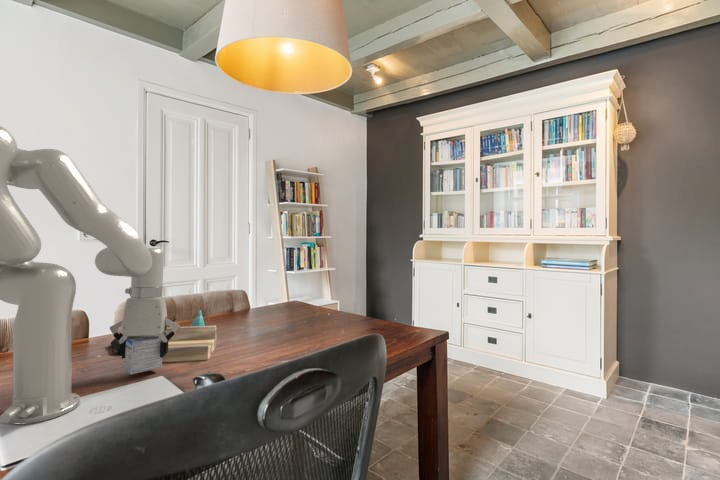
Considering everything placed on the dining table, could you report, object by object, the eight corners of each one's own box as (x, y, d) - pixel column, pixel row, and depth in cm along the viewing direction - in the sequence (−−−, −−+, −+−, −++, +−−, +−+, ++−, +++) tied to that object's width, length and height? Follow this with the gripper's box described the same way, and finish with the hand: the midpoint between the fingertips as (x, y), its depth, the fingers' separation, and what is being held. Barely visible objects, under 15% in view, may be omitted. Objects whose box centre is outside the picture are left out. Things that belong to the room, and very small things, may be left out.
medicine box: (154, 364, 106) (156, 333, 106) (162, 368, 103) (163, 336, 103) (123, 371, 100) (125, 338, 100) (131, 375, 97) (132, 341, 97)
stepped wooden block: (207, 359, 113) (208, 336, 113) (150, 362, 110) (150, 339, 110) (216, 346, 127) (216, 325, 127) (165, 348, 124) (165, 327, 124)
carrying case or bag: (105, 347, 125) (116, 358, 115) (105, 338, 125) (116, 348, 115) (141, 341, 133) (154, 350, 123) (141, 332, 133) (154, 341, 123)
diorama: (152, 337, 139) (152, 313, 139) (204, 327, 154) (204, 306, 154) (166, 343, 131) (166, 318, 131) (220, 332, 146) (220, 310, 146)
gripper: (104, 294, 97) (102, 361, 96) (177, 294, 100) (174, 359, 100) (117, 291, 104) (115, 353, 104) (184, 291, 107) (182, 351, 107)
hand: (144, 356), depth 102 cm, fingers closed on medicine box, 8 cm apart
